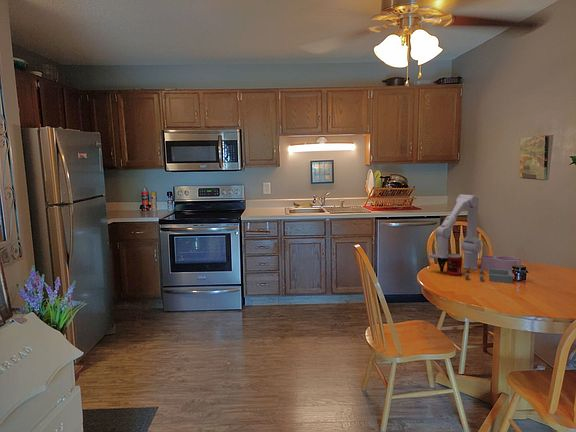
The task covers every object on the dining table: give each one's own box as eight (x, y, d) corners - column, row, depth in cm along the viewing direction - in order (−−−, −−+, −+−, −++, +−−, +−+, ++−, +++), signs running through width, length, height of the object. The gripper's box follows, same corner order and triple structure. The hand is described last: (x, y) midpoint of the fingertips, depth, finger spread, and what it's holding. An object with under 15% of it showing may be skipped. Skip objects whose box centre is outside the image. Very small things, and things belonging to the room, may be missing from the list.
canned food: (458, 272, 228) (459, 253, 226) (463, 276, 220) (464, 256, 218) (444, 272, 229) (445, 253, 227) (449, 276, 221) (449, 256, 219)
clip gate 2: (480, 272, 227) (480, 268, 227) (483, 272, 226) (483, 268, 226) (479, 281, 210) (480, 276, 210) (483, 281, 209) (483, 277, 209)
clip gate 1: (466, 271, 230) (466, 266, 230) (469, 271, 229) (469, 267, 229) (465, 279, 213) (465, 275, 213) (468, 280, 212) (468, 275, 212)
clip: (480, 270, 232) (481, 258, 231) (481, 265, 243) (481, 254, 242) (520, 274, 223) (521, 262, 222) (519, 268, 234) (519, 257, 233)
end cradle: (488, 274, 223) (488, 268, 222) (510, 276, 218) (511, 270, 218) (489, 280, 211) (489, 274, 210) (512, 283, 206) (512, 276, 206)
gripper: (428, 248, 225) (427, 271, 226) (456, 250, 218) (455, 274, 220) (429, 245, 231) (428, 268, 233) (456, 247, 225) (455, 271, 226)
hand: (441, 271), depth 227 cm, fingers closed
